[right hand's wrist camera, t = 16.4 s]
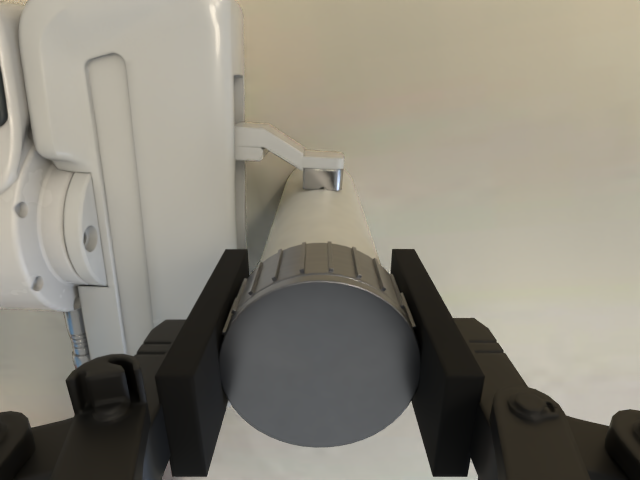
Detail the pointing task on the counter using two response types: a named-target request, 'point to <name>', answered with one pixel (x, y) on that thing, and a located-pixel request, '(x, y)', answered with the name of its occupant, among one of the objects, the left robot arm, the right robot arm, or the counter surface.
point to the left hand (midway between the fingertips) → (338, 230)
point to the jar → (319, 218)
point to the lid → (319, 347)
